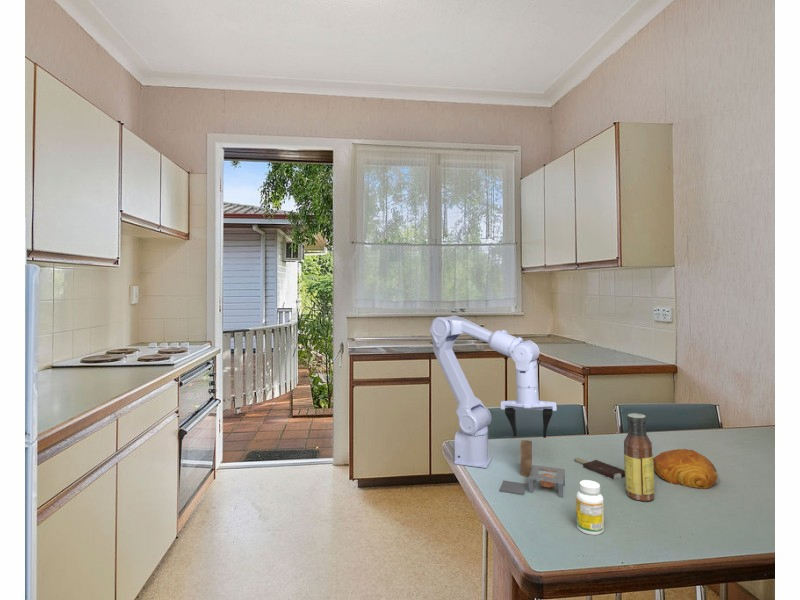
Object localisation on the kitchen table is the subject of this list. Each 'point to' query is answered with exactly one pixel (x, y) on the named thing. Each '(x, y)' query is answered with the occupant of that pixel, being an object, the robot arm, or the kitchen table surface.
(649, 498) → the sauce bottle
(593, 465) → the ice cream bar
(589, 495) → the supplement bottle
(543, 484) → the button
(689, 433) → the kitchen table surface
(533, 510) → the kitchen table surface
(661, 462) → the croissant
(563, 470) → the guard frame
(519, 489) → the pad
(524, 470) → the stylus stick
